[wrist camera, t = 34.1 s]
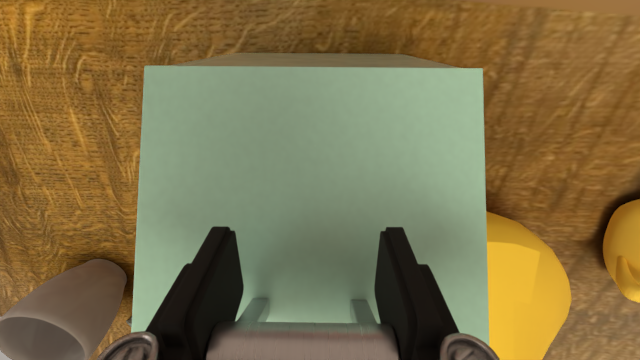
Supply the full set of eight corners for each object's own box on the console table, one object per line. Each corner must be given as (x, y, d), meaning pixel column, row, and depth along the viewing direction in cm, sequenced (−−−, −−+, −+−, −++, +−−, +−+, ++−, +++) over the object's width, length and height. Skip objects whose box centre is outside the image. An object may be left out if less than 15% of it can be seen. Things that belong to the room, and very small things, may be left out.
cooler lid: (480, 357, 13) (604, 482, 7) (141, 352, 13) (0, 471, 7) (473, 75, 13) (581, -13, 8) (154, 72, 14) (36, -16, 8)
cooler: (387, 174, 31) (430, 267, 19) (248, 172, 31) (198, 263, 19) (402, 53, 26) (473, 70, 13) (235, 52, 26) (154, 67, 14)
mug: (123, 243, 35) (58, 311, 27) (151, 297, 39) (102, 371, 30) (30, 253, 36) (-62, 322, 28) (67, 304, 40) (-4, 379, 31)
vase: (396, 322, 41) (448, 532, 23) (324, 228, 34) (325, 425, 17) (531, 268, 36) (719, 478, 19) (480, 148, 30) (697, 304, 12)
